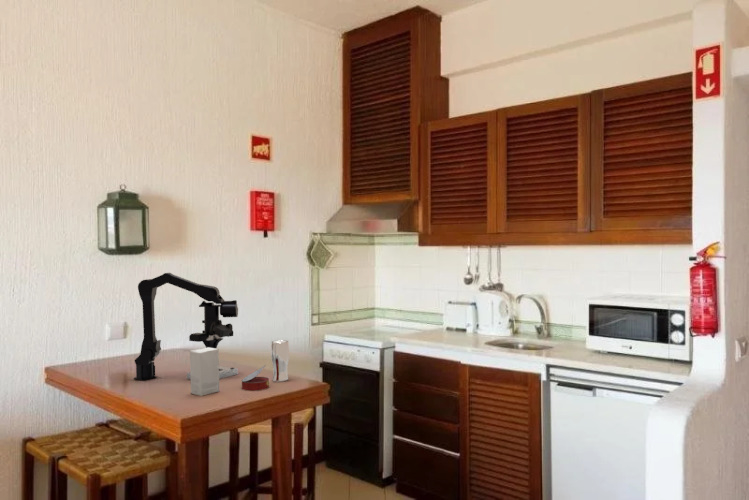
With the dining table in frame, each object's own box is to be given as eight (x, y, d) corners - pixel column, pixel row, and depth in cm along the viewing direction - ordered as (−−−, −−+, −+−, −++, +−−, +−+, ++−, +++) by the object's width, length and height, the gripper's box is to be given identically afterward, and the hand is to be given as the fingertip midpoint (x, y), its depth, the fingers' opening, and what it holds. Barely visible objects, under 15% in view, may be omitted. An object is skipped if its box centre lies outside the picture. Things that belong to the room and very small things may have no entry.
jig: (207, 381, 231) (207, 374, 231) (186, 378, 237) (186, 371, 237) (237, 374, 244) (237, 367, 244) (217, 371, 251) (217, 364, 251)
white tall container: (285, 382, 228) (285, 343, 228) (268, 381, 229) (268, 342, 229) (291, 378, 235) (291, 340, 235) (275, 377, 236) (274, 340, 236)
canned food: (259, 403, 216) (252, 381, 211) (239, 397, 221) (231, 376, 216) (278, 383, 224) (272, 362, 219) (258, 377, 229) (251, 357, 225)
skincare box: (209, 389, 218) (209, 346, 218) (220, 391, 214) (220, 348, 214) (189, 393, 212) (189, 350, 212) (200, 396, 207) (199, 351, 207)
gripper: (207, 321, 228) (208, 361, 228) (242, 316, 244) (243, 354, 244) (188, 319, 234) (188, 359, 234) (223, 315, 250) (223, 352, 250)
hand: (212, 356), depth 241 cm, fingers closed
